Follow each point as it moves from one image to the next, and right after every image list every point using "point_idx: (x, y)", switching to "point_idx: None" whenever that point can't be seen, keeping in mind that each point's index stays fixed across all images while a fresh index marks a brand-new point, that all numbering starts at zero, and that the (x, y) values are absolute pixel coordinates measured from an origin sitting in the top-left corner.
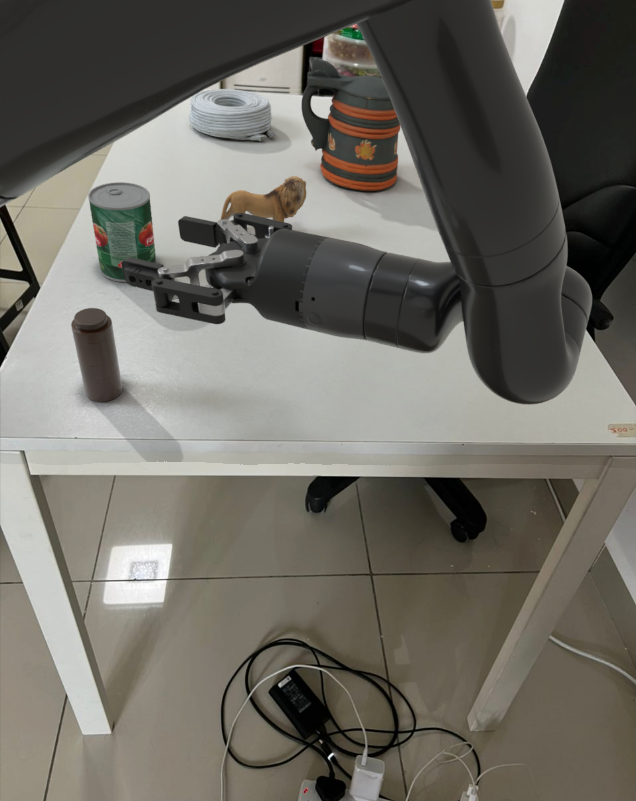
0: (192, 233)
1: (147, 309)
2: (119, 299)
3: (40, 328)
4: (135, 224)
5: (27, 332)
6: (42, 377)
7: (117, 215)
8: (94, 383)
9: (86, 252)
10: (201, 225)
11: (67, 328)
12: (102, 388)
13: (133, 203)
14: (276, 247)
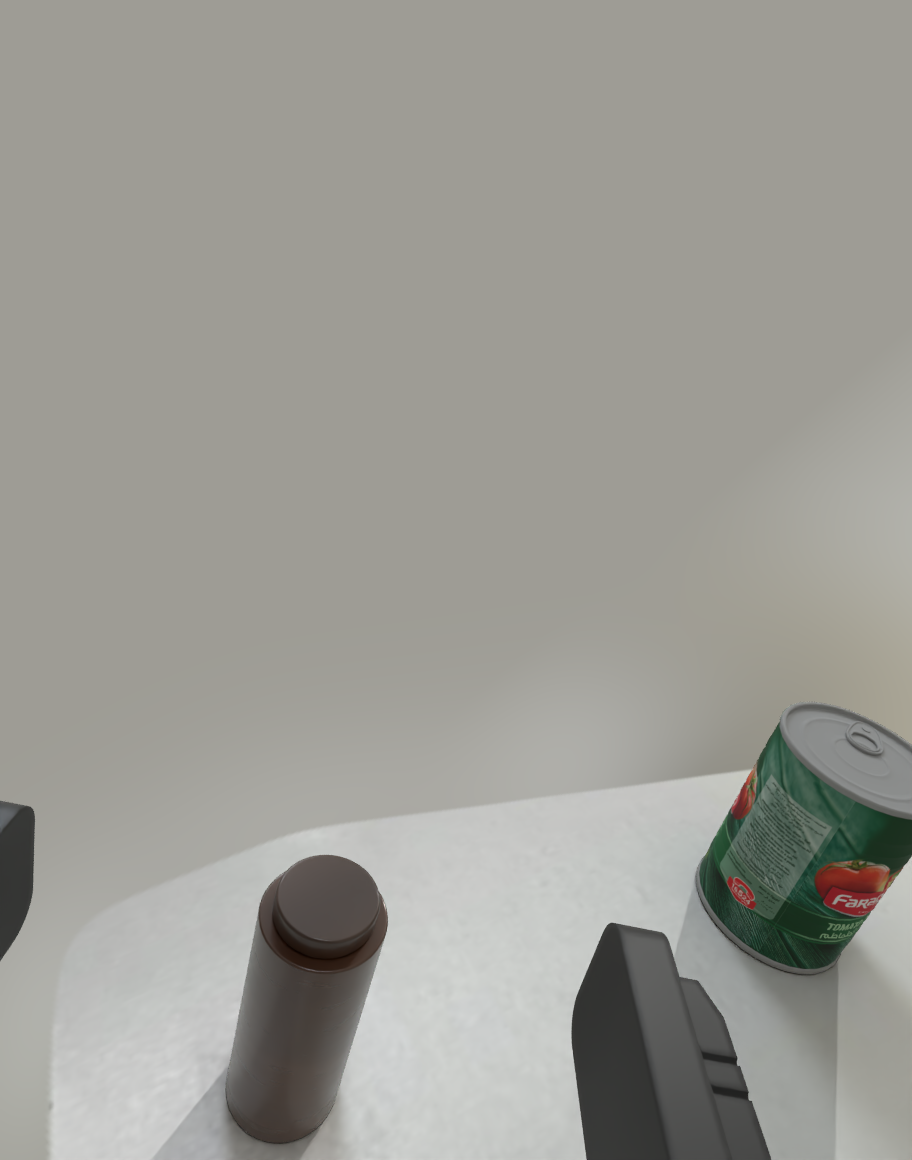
0: (604, 1066)
1: None
2: None
3: (455, 832)
4: (833, 837)
5: (430, 816)
6: None
7: (804, 783)
8: (234, 1046)
9: None
10: (646, 1103)
11: (484, 880)
12: (237, 1080)
13: (872, 793)
14: None
